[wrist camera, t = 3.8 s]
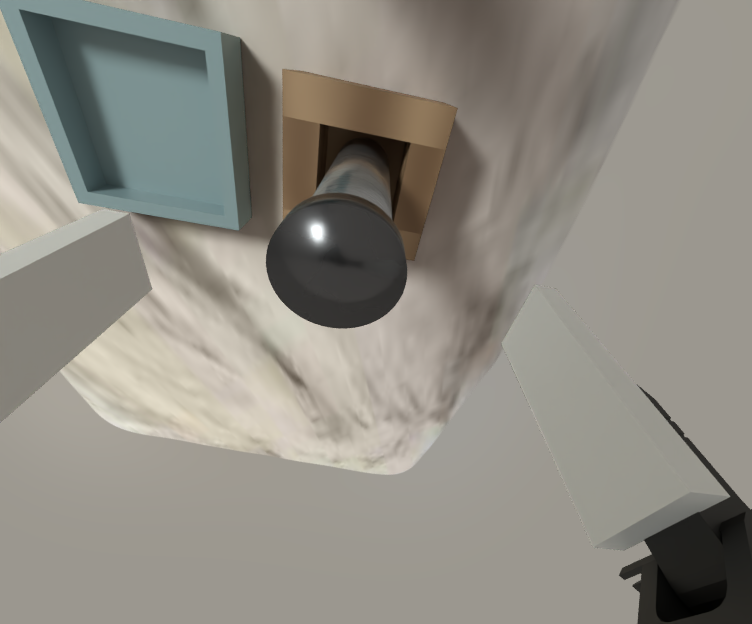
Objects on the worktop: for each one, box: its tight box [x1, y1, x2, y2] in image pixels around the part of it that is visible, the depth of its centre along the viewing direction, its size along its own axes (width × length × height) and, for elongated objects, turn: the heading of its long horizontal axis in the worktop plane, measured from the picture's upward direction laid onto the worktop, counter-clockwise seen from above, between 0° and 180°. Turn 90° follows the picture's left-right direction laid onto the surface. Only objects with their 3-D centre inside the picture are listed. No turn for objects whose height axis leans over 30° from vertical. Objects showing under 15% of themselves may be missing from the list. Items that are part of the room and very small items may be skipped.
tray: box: [0, 0, 252, 230], centre depth 22 cm, size 12×12×3 cm
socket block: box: [282, 69, 458, 261], centre depth 22 cm, size 10×10×5 cm
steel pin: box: [266, 138, 407, 328], centre depth 17 cm, size 5×5×16 cm
